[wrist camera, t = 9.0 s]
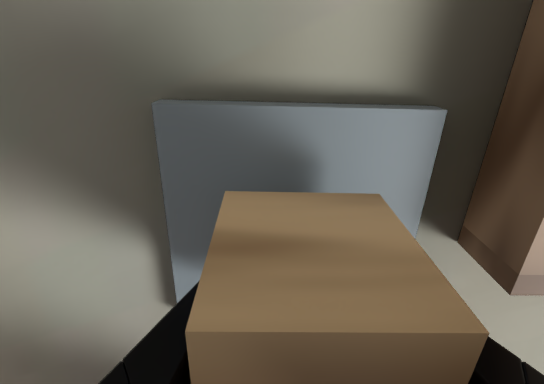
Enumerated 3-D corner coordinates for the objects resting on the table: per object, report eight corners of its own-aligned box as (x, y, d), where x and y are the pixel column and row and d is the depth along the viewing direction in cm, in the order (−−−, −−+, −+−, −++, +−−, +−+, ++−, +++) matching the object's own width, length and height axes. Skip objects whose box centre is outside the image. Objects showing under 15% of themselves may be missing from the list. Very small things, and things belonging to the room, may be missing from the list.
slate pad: (387, 311, 14) (393, 326, 13) (184, 310, 14) (179, 325, 13) (434, 106, 10) (447, 109, 10) (159, 99, 10) (151, 103, 9)
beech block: (357, 310, 11) (422, 491, 7) (229, 309, 11) (203, 493, 6) (379, 193, 9) (489, 333, 5) (224, 190, 9) (185, 332, 5)
